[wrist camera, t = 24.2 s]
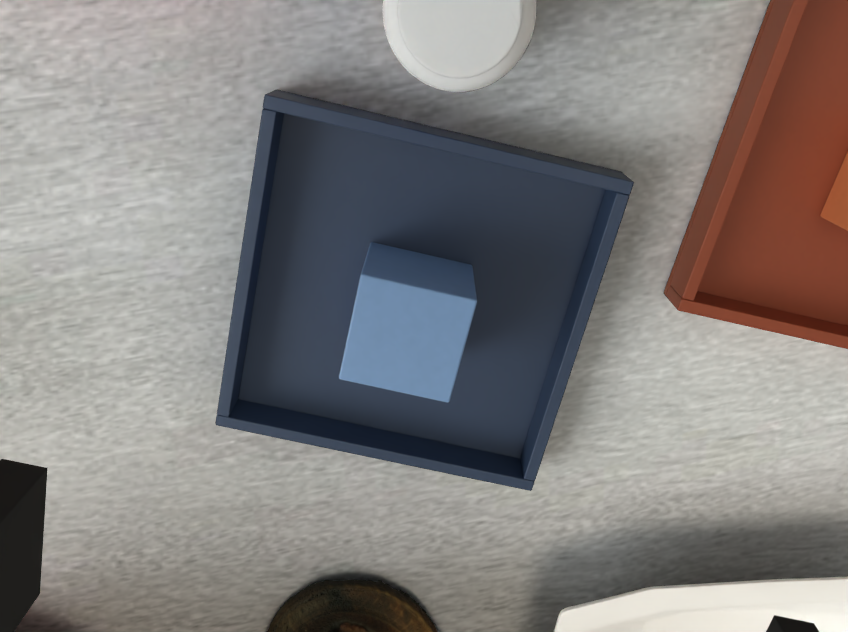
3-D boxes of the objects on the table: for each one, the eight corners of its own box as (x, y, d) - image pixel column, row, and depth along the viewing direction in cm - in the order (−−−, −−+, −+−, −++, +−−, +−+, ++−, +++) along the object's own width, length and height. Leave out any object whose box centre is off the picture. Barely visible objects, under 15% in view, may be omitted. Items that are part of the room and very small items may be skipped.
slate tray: (275, 89, 34) (264, 94, 32) (622, 171, 35) (634, 182, 33) (227, 402, 40) (215, 425, 38) (526, 465, 41) (531, 491, 39)
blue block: (370, 241, 36) (360, 273, 32) (473, 264, 37) (477, 300, 32) (350, 335, 38) (338, 379, 34) (448, 357, 39) (449, 403, 34)
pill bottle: (538, -30, 32) (577, -48, 23) (492, 96, 34) (511, 123, 25) (417, -77, 32) (408, -114, 23) (376, 53, 34) (354, 66, 25)
